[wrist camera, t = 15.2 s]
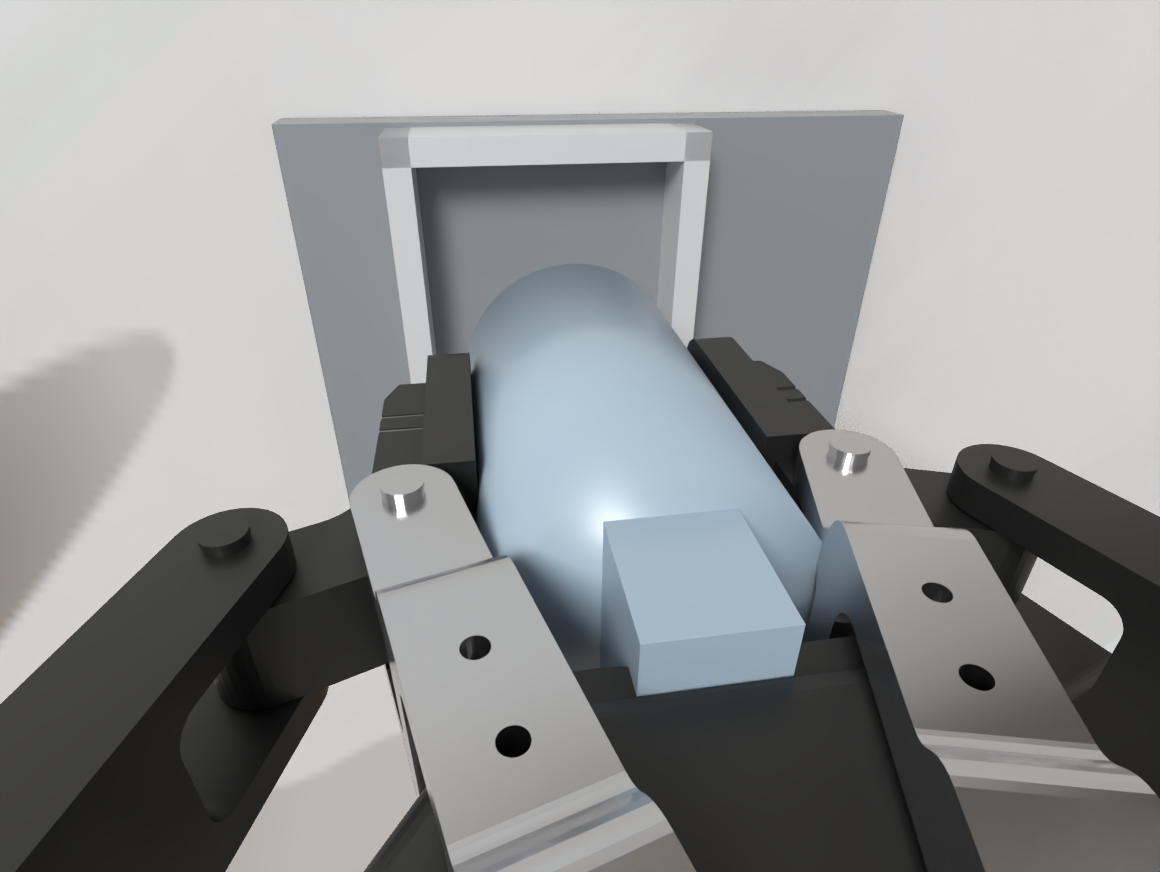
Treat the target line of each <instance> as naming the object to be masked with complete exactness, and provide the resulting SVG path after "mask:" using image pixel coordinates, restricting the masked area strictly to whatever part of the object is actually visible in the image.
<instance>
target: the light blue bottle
mask: <svg viewBox="0 0 1160 872" xmlns="http://www.w3.org/2000/svg"><path fill="white" fill-rule="evenodd" d="M469 355H470V365H471V377H472V394H473V411H474V428H475V445H476V463H477V480H478V497H479V498H478V505H477V511H476V515H477V527H478V529H479V531H480V533H481V535H482V537H483V539H484V541H485V543H486V545H487V547H488V549H489V551H490V553H491V555H492V557H496V556H500V555H504V554H505V555H507V556H509V557H510V559H511V560H512V562H513V563H514V565H515V567H516V569H517V570H518V572H519V574H520V576H521V578H522V580H523V582H524V583H525V585H526V587H527V589H528V591H529V593H530V595H531V596H532V598H533V600H534V602H535V604H536V606H537V608H538V609H539V611H540V613H541V615H542V617H543V619H544V621H545V622H546V624H547V626H548V628H549V630H550V632H551V634H552V635H553V637H554V639H555V641H556V643H557V645H558V647H559V648H560V650H561V652H562V654H563V656H564V658H565V660H566V661H567V663H568V665H569V667H570V669H571V671H579V670H587V669H595V668H603V667H611V666H620V667H629V671H630V674H631V678H632V682H633V685H634V689H635V693H636V697H637V698H639V697H646V696H654V695H661V694H669V693H676V692H684V691H691V690H699V689H707V688H714V687H722V686H729V685H737V684H744V683H752V682H759V681H767V680H774V679H782V678H789V677H793V676H794V672H795V668H796V663H797V659H798V655H799V651H800V647H801V643H802V642H804V638H805V634H806V630H807V626H808V622H809V617H810V613H811V609H812V605H813V601H814V597H815V591H816V581H817V570H816V566H817V562H818V557H819V553H820V549H821V545H822V542H821V540H820V538H819V537H818V535H817V534H816V532H815V531H814V529H813V528H812V526H811V525H810V523H809V522H808V520H807V519H806V518H805V516H804V515H803V513H802V512H801V510H800V509H799V508H798V506H797V505H796V503H795V502H794V500H793V499H792V498H791V496H790V495H789V493H788V492H787V490H786V489H785V488H784V486H783V485H782V483H781V482H780V480H779V479H778V478H777V476H776V475H775V473H774V472H773V471H772V469H771V468H770V466H769V465H768V463H767V462H766V461H765V459H764V458H763V456H762V455H761V453H760V452H759V451H758V449H757V448H756V446H755V445H754V443H753V442H752V441H751V439H750V438H749V436H748V435H747V433H746V432H745V431H744V429H743V428H742V426H741V425H740V423H739V422H738V421H737V419H736V418H735V416H734V415H733V413H732V412H731V411H730V409H729V408H728V406H727V405H726V403H725V402H724V401H723V399H722V398H721V396H720V395H719V393H718V392H717V391H716V389H715V388H714V386H713V385H712V384H711V382H710V381H709V379H708V378H707V376H706V375H705V374H704V372H703V371H702V369H701V368H700V366H699V365H698V364H697V362H696V361H695V359H694V358H693V356H692V355H691V354H690V352H689V351H688V349H687V348H686V346H685V345H684V344H683V342H682V341H681V339H680V338H679V336H678V335H677V334H676V332H675V331H674V329H673V328H672V326H671V325H670V324H669V322H668V321H667V319H666V318H665V316H664V315H663V314H662V312H661V311H660V309H659V308H658V306H657V305H656V304H655V302H654V301H653V300H652V298H651V297H650V296H649V295H648V294H647V293H646V292H645V290H643V289H642V288H641V287H640V286H639V285H638V284H636V283H635V282H634V281H632V280H630V279H629V278H627V277H626V276H624V275H622V274H620V273H618V272H615V271H613V270H610V269H607V268H604V267H600V266H595V265H589V264H563V265H555V266H551V267H547V268H543V269H540V270H538V271H535V272H532V273H530V274H528V275H526V276H524V277H522V278H520V279H518V280H517V281H515V282H514V283H512V284H511V285H510V286H508V287H507V288H505V289H504V290H503V291H502V292H501V293H500V294H499V295H498V296H497V297H496V298H495V299H494V300H493V301H492V302H491V304H490V305H489V306H488V307H487V308H486V310H485V311H484V313H483V315H482V316H481V318H480V320H479V321H478V324H477V326H476V328H475V331H474V333H473V337H472V340H471V344H470V350H469Z"/></svg>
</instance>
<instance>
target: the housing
mask: <svg viewBox="0 0 1160 872" xmlns="http://www.w3.org/2000/svg"><path fill="white" fill-rule="evenodd" d="M903 117H904V115H902V114H897V113H893V112H889V111H884V110H860V111H788V112H716V113H644V114H572V115H499V116H427V117H355V118H283V119H279V120H278V121H276V122H275V123H273V124H272V129H273V134H274V139H275V144H276V149H277V154H278V158H279V163H280V168H281V173H282V178H283V183H284V187H285V192H286V197H287V202H288V207H289V212H290V217H291V221H292V226H293V231H294V236H295V241H296V246H297V250H298V255H299V260H300V265H301V270H302V275H303V280H304V284H305V289H306V294H307V299H308V304H309V309H310V313H311V318H312V323H313V328H314V333H315V338H316V343H317V347H318V352H319V357H320V362H321V367H322V372H323V376H324V381H325V386H326V391H327V396H328V401H329V406H330V410H331V415H332V420H333V425H334V430H335V435H336V439H337V444H338V449H339V454H340V459H341V464H342V469H343V473H344V478H345V483H346V488H347V493H348V498H349V502H350V496H351V493H352V491H353V489H354V488H355V487H356V486H357V484H359V483H360V482H361V481H362V480H363V479H365V478H366V477H368V476H369V475H371V474H372V469H373V463H374V458H375V452H376V446H377V440H378V434H379V428H380V422H381V419H382V410H383V404H384V400H385V398H386V397H387V396H388V395H389V394H390V393H391V392H392V391H393V390H394V389H395V388H396V387H397V386H398V385H401V384H416V383H426V373H427V358H428V355H441V354H457V353H469V350H470V344H471V340H472V337H473V333H474V331H475V328H476V326H477V324H478V321H479V320H480V318H481V316H482V315H483V313H484V311H485V310H486V308H487V307H488V306H489V305H490V304H491V302H492V301H493V300H494V299H495V298H496V297H497V296H498V295H499V294H500V293H501V292H502V291H503V290H504V289H505V288H507V287H508V286H510V285H511V284H512V283H514V282H515V281H517V280H518V279H520V278H522V277H524V276H526V275H528V274H530V273H532V272H535V271H538V270H540V269H543V268H547V267H551V266H555V265H563V264H589V265H595V266H600V267H604V268H607V269H610V270H613V271H615V272H618V273H620V274H622V275H624V276H626V277H627V278H629V279H630V280H632V281H634V282H635V283H636V284H638V285H639V286H640V287H641V288H642V289H643V290H645V292H646V293H647V294H648V295H649V296H650V297H651V298H652V300H653V301H654V302H655V304H656V305H657V306H658V308H659V309H660V311H661V312H662V314H663V315H664V316H665V318H666V319H667V321H668V322H669V324H670V325H671V326H672V328H673V329H674V331H675V332H676V334H677V335H678V336H679V338H680V339H681V341H682V342H683V344H684V345H685V346H686V348H687V346H688V343H689V341H690V340H691V339H702V338H718V337H732V338H734V339H735V341H736V342H737V343H738V344H739V345H740V346H741V348H742V349H743V350H744V351H745V352H746V353H747V355H748V356H749V357H750V358H751V359H752V360H753V361H762V362H764V363H766V364H768V365H770V366H772V367H774V368H776V369H778V370H779V371H781V372H783V373H784V374H785V375H786V376H787V377H788V379H789V380H790V381H791V382H792V383H793V384H794V385H795V386H796V387H795V388H796V389H799V391H800V392H801V393H802V394H803V395H804V396H805V397H806V401H810V403H811V404H812V405H813V406H814V407H815V408H816V409H817V410H818V411H819V412H820V413H821V415H822V416H823V417H824V418H825V419H826V420H827V421H828V422H829V423H830V424H831V425H832V427H833V428H834V424H835V420H836V415H837V411H838V406H839V402H840V397H841V393H842V388H843V384H844V380H845V375H846V371H847V366H848V362H849V357H850V353H851V348H852V344H853V339H854V335H855V331H856V326H857V322H858V317H859V313H860V308H861V304H862V299H863V295H864V290H865V286H866V282H867V277H868V273H869V268H870V264H871V259H872V255H873V250H874V246H875V242H876V237H877V233H878V228H879V224H880V219H881V215H882V210H883V206H884V201H885V197H886V193H887V188H888V184H889V179H890V175H891V170H892V166H893V161H894V157H895V153H896V148H897V144H898V139H899V135H900V130H901V126H902V121H903Z"/></svg>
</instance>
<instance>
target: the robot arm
mask: <svg viewBox="0 0 1160 872" xmlns="http://www.w3.org/2000/svg"><path fill="white" fill-rule="evenodd" d="M687 349H688V351H689V352H690V354H691V355H692V356H693V358H694V359H695V361H696V362H697V364H698V365H699V366H700V368H701V369H702V371H703V372H704V374H705V375H706V376H707V378H708V379H709V381H710V382H711V384H712V385H713V386H714V388H715V389H716V391H717V392H718V393H719V395H720V396H721V398H722V399H723V401H724V402H725V403H726V405H727V406H728V408H729V409H730V411H731V412H732V413H733V415H734V416H735V418H736V419H737V421H738V422H739V423H740V425H741V426H742V428H743V429H744V431H745V432H746V433H747V435H748V436H749V438H750V439H751V441H752V442H753V443H754V445H755V446H756V448H757V449H758V451H759V452H760V453H761V455H762V456H763V458H764V459H765V461H766V462H767V463H768V465H769V466H770V468H771V469H772V471H773V472H774V473H775V475H776V476H777V478H778V479H779V480H780V482H781V483H782V485H783V486H784V488H785V489H786V490H787V492H788V493H789V495H790V496H791V498H792V499H793V500H794V502H795V503H796V505H797V506H798V508H799V509H800V510H801V512H802V513H803V515H804V516H805V518H806V519H807V520H808V522H809V523H810V525H811V526H812V528H813V529H814V531H815V532H816V534H817V535H818V537H819V538H820V540H821V542H822V545H821V549H820V553H819V557H818V562H817V566H816V570H817V581H816V591H815V597H814V601H813V605H812V609H811V613H810V617H809V622H808V626H807V630H806V634H805V638H804V642H802V643H801V647H800V651H799V655H798V659H797V663H796V668H795V672H794V676H793V677H789V678H782V679H774V680H767V681H759V682H752V683H744V684H737V685H729V686H722V687H714V688H707V689H699V690H691V691H684V692H676V693H669V694H661V695H654V696H646V697H639V698H637V697H636V693H635V689H634V685H633V682H632V678H631V674H630V671H629V667H620V666H611V667H603V668H595V669H587V670H579V671H571V669H570V667H569V665H568V663H567V661H566V660H565V658H564V656H563V654H562V652H561V650H560V648H559V647H558V645H557V643H556V641H555V639H554V637H553V635H552V634H551V632H550V630H549V628H548V626H547V624H546V622H545V621H544V619H543V617H542V615H541V613H540V611H539V609H538V608H537V606H536V604H535V602H534V600H533V598H532V596H531V595H530V593H529V591H528V589H527V587H526V585H525V583H524V582H523V580H522V578H521V576H520V574H519V572H518V570H517V569H516V567H515V565H514V563H513V562H512V560H511V559H510V557H509V556H507V555H505V554H504V555H500V556H496V557H492V555H491V553H490V551H489V549H488V547H487V545H486V543H485V541H484V539H483V537H482V535H481V533H480V531H479V529H478V527H477V515H476V511H477V505H478V498H479V497H478V480H477V463H476V445H475V428H474V411H473V394H472V377H471V365H470V355H469V353H457V354H441V355H428V358H427V373H426V383H416V384H401V385H398V386H397V387H396V388H395V389H394V390H393V391H392V392H391V393H390V394H389V395H388V396H387V397H386V398H385V400H384V404H383V410H382V419H381V422H380V428H379V434H378V440H377V446H376V452H375V458H374V463H373V469H372V474H371V475H369V476H368V477H366V478H365V479H363V480H362V481H361V482H360V483H359V484H357V486H356V487H355V488H354V489H353V491H352V493H351V496H350V509H349V510H347V511H346V512H344V513H342V514H340V515H338V516H336V517H334V518H332V519H329V520H326V521H323V522H320V523H317V524H314V525H310V526H307V527H304V528H300V529H297V530H293V531H290V532H288V528H287V525H286V523H285V521H284V519H283V518H282V517H280V516H279V515H278V514H276V513H274V512H272V511H269V510H265V509H259V508H239V509H232V510H227V511H223V512H219V513H216V514H213V515H210V516H207V517H205V518H203V519H200V520H198V521H197V522H195V523H193V524H191V525H189V526H188V527H186V528H185V529H183V530H182V531H181V532H180V533H178V534H177V535H176V536H175V537H174V538H173V539H172V540H171V541H170V542H169V543H168V544H167V545H166V546H164V547H163V548H162V549H161V550H160V551H159V552H158V553H157V554H156V555H155V556H154V557H153V558H152V559H151V560H150V561H149V562H148V563H147V564H146V565H145V566H144V567H143V568H142V569H141V570H140V571H138V572H137V573H136V574H135V575H134V576H133V577H132V578H131V579H130V580H129V581H128V582H127V583H126V584H125V585H124V586H123V587H122V588H121V589H120V590H119V591H118V592H117V593H116V594H115V595H114V596H113V597H111V598H110V599H109V600H108V601H107V602H106V603H105V604H104V605H103V606H102V607H101V608H100V609H99V610H98V611H97V612H96V613H95V614H94V615H93V616H92V617H91V618H90V619H89V620H88V621H87V622H85V623H84V624H83V625H82V626H81V627H80V628H79V629H78V630H77V631H76V632H75V633H74V634H73V635H72V636H71V637H70V638H69V639H68V640H67V641H66V642H65V643H64V644H63V645H62V646H61V647H59V648H58V649H57V650H56V651H55V652H54V653H53V654H52V655H51V656H50V657H49V658H48V659H47V660H46V661H45V662H44V663H43V664H42V665H41V666H40V667H39V668H38V669H37V670H36V671H35V672H34V673H32V674H31V675H30V676H29V677H28V678H27V679H26V680H25V681H24V682H23V683H22V684H21V685H20V686H19V687H18V688H17V689H16V690H15V691H14V692H13V693H12V694H11V695H10V696H9V697H8V698H6V699H5V700H4V701H3V702H2V703H1V704H0V872H225V871H226V870H227V868H228V866H229V864H230V863H231V861H232V859H233V857H234V856H235V854H236V852H237V850H238V849H239V847H240V845H241V843H242V842H243V840H244V838H245V837H246V835H247V833H248V831H249V830H250V828H251V826H252V824H253V823H254V821H255V819H256V817H257V816H258V814H259V812H260V811H261V809H262V807H263V805H264V804H265V802H266V800H267V798H268V797H269V795H270V793H271V791H272V790H273V788H274V786H275V785H276V783H277V781H278V779H279V778H280V776H281V774H282V772H283V771H284V769H285V767H286V765H287V764H288V762H289V760H290V758H291V757H292V755H293V753H294V752H295V750H296V748H297V746H298V745H299V743H300V741H301V739H302V738H303V736H304V734H305V732H306V731H307V729H308V727H309V725H310V724H311V722H312V720H313V719H314V717H315V715H316V713H317V712H318V710H319V708H320V706H321V705H322V703H323V701H324V699H325V697H326V695H327V691H328V687H329V686H330V685H332V684H335V683H338V682H340V681H343V680H345V679H348V678H350V677H353V676H356V675H358V674H361V673H363V672H366V671H368V670H371V669H374V668H376V667H379V666H381V665H384V667H385V671H386V675H387V678H388V682H389V686H390V690H391V694H392V698H393V702H394V706H395V710H396V713H397V717H398V721H399V725H400V729H401V733H402V737H403V741H404V745H405V748H406V752H407V756H408V761H409V765H410V769H411V773H412V778H413V782H414V786H415V791H416V795H417V800H416V801H415V803H414V804H413V805H412V807H411V808H410V809H409V811H408V812H407V814H406V815H405V816H404V818H403V819H402V820H401V822H400V823H399V824H398V826H397V827H396V829H395V830H394V831H393V833H392V834H391V835H390V837H389V838H388V839H387V841H386V842H385V843H384V845H383V846H382V848H381V849H380V850H379V852H378V853H377V854H376V856H375V857H374V859H373V860H372V861H371V863H370V864H369V865H368V867H367V868H366V870H365V871H364V872H1160V517H1159V516H1157V515H1155V514H1153V513H1151V512H1149V511H1147V510H1145V509H1143V508H1141V507H1139V506H1137V505H1135V504H1133V503H1131V502H1129V501H1127V500H1125V499H1123V498H1121V497H1119V496H1117V495H1115V494H1113V493H1111V492H1109V491H1107V490H1105V489H1103V488H1101V487H1099V486H1097V485H1095V484H1093V483H1091V482H1089V481H1087V480H1085V479H1083V478H1081V477H1079V476H1077V475H1075V474H1073V473H1071V472H1069V471H1067V470H1065V469H1063V468H1061V467H1059V466H1057V465H1055V464H1053V463H1051V462H1049V461H1047V460H1045V459H1043V458H1041V457H1039V456H1037V455H1035V454H1032V453H1029V452H1027V451H1024V450H1020V449H1017V448H1013V447H1008V446H1003V445H994V444H979V445H973V446H969V447H966V448H964V449H963V450H961V451H960V452H959V454H958V456H957V459H956V462H955V465H954V468H953V471H952V473H945V472H935V471H926V470H916V469H908V468H903V466H902V464H901V462H900V461H899V459H898V457H897V455H896V454H895V452H894V451H893V450H892V449H891V448H890V447H888V446H887V445H886V444H884V443H883V442H881V441H879V440H877V439H875V438H873V437H870V436H867V435H865V434H861V433H857V432H853V431H847V430H835V429H834V428H833V427H832V425H831V424H830V423H829V422H828V421H827V420H826V419H825V418H824V417H823V416H822V415H821V413H820V412H819V411H818V410H817V409H816V408H815V407H814V406H813V405H812V404H811V403H810V401H806V397H805V396H804V395H803V394H802V393H801V392H800V391H799V389H796V388H795V387H796V386H795V385H794V384H793V383H792V382H791V381H790V380H789V379H788V377H787V376H786V375H785V374H784V373H783V372H781V371H779V370H778V369H776V368H774V367H772V366H770V365H768V364H766V363H764V362H762V361H753V360H752V359H751V358H750V357H749V356H748V355H747V353H746V352H745V351H744V350H743V349H742V348H741V346H740V345H739V344H738V343H737V342H736V341H735V339H734V338H732V337H718V338H702V339H691V340H690V341H689V343H688V346H687ZM1037 557H1039V558H1041V559H1042V560H1044V561H1046V562H1047V563H1049V564H1050V565H1052V566H1054V567H1055V568H1057V569H1059V570H1060V571H1062V572H1063V573H1065V574H1067V575H1068V576H1070V577H1072V578H1073V579H1075V580H1076V581H1078V582H1080V583H1081V584H1083V585H1085V586H1086V587H1088V588H1089V589H1091V590H1093V591H1094V592H1096V593H1098V594H1099V595H1101V596H1102V597H1104V598H1105V599H1107V600H1108V601H1109V602H1110V603H1111V604H1112V605H1113V606H1114V607H1115V608H1116V610H1117V611H1118V613H1119V614H1120V617H1121V619H1122V622H1123V635H1122V637H1121V639H1120V641H1119V643H1118V644H1117V646H1116V648H1115V650H1114V651H1113V653H1112V654H1111V653H1110V652H1108V651H1107V650H1105V649H1104V648H1102V647H1101V646H1099V645H1098V644H1096V643H1095V642H1093V641H1092V640H1090V639H1089V638H1087V637H1086V636H1084V635H1083V634H1081V633H1080V632H1078V631H1077V630H1075V629H1074V628H1072V627H1071V626H1070V625H1068V624H1067V623H1065V622H1064V621H1062V620H1061V619H1059V618H1058V617H1056V616H1055V615H1053V614H1052V613H1050V612H1049V611H1047V610H1046V609H1044V608H1043V607H1041V606H1040V605H1038V604H1037V603H1035V602H1034V601H1032V600H1031V599H1029V598H1028V597H1026V596H1025V595H1023V594H1022V590H1023V588H1024V586H1025V584H1026V581H1027V579H1028V577H1029V575H1030V573H1031V570H1032V568H1033V566H1034V564H1035V561H1036V559H1037Z"/></svg>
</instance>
